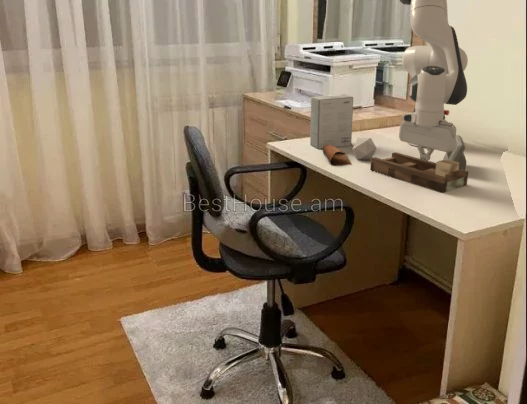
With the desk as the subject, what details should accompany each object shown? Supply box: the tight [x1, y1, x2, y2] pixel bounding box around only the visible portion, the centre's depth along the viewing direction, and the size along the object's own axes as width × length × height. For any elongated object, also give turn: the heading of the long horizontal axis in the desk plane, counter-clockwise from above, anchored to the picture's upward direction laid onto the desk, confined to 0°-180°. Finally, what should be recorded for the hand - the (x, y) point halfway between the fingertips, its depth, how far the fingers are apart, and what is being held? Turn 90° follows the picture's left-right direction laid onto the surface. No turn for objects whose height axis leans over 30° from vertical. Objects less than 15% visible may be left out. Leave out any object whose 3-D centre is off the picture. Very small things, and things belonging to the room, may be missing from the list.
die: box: [351, 137, 377, 161], centre depth 215 cm, size 8×9×10 cm
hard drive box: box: [309, 93, 354, 150], centre depth 231 cm, size 16×8×20 cm, turn 111°
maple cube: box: [435, 159, 459, 177], centre depth 184 cm, size 5×5×5 cm
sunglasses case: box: [322, 144, 352, 166], centre depth 216 cm, size 18×7×7 cm
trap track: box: [370, 152, 469, 194], centre depth 193 cm, size 13×30×6 cm, turn 38°
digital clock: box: [442, 134, 467, 171], centre depth 203 cm, size 16×9×11 cm, turn 155°
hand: (424, 159), depth 191 cm, fingers closed
